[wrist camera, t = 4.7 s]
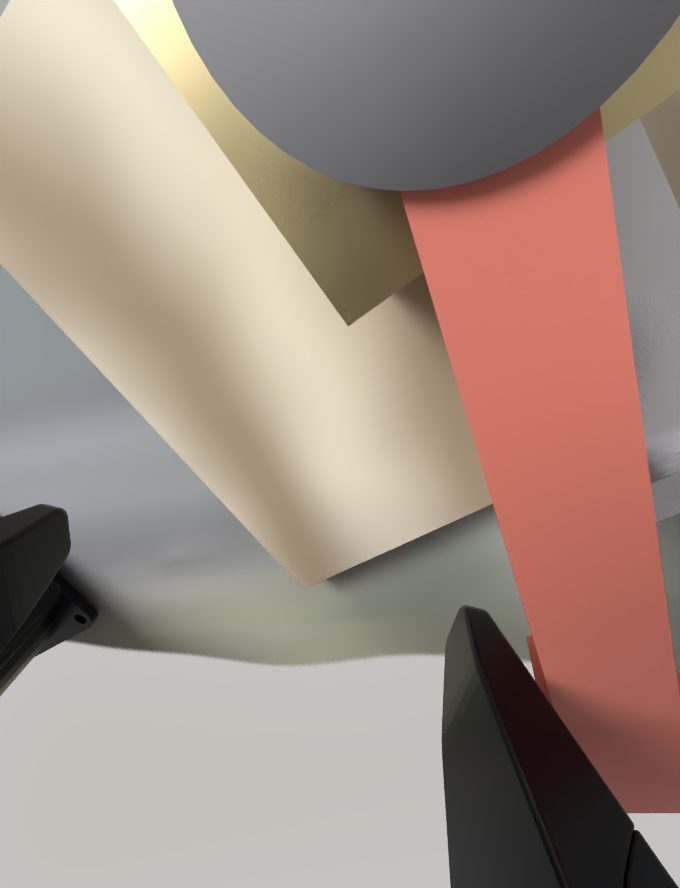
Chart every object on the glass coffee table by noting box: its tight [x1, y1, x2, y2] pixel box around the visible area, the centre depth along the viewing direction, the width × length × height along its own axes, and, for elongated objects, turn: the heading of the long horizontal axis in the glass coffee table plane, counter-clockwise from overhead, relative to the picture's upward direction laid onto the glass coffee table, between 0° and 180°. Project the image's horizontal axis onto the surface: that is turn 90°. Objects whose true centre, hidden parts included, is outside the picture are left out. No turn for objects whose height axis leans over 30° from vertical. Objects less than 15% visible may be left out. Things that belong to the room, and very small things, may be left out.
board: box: [0, 0, 680, 589], centre depth 11 cm, size 16×15×1 cm
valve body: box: [114, 0, 680, 522], centre depth 8 cm, size 6×14×4 cm, turn 35°
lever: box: [172, 0, 680, 813], centre depth 6 cm, size 14×4×2 cm, turn 20°
